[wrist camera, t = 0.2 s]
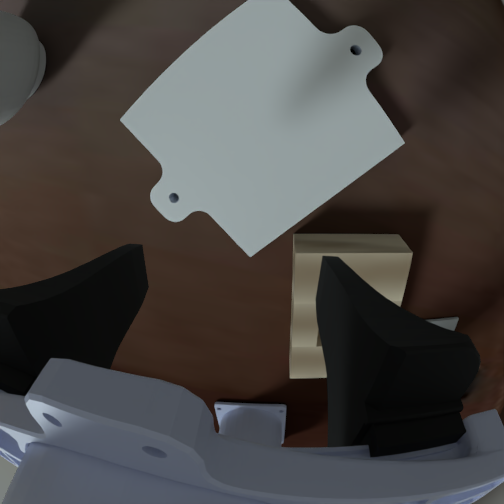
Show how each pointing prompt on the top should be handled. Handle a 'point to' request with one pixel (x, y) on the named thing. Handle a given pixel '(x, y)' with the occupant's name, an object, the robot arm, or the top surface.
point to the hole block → (360, 261)
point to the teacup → (18, 64)
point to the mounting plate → (262, 121)
